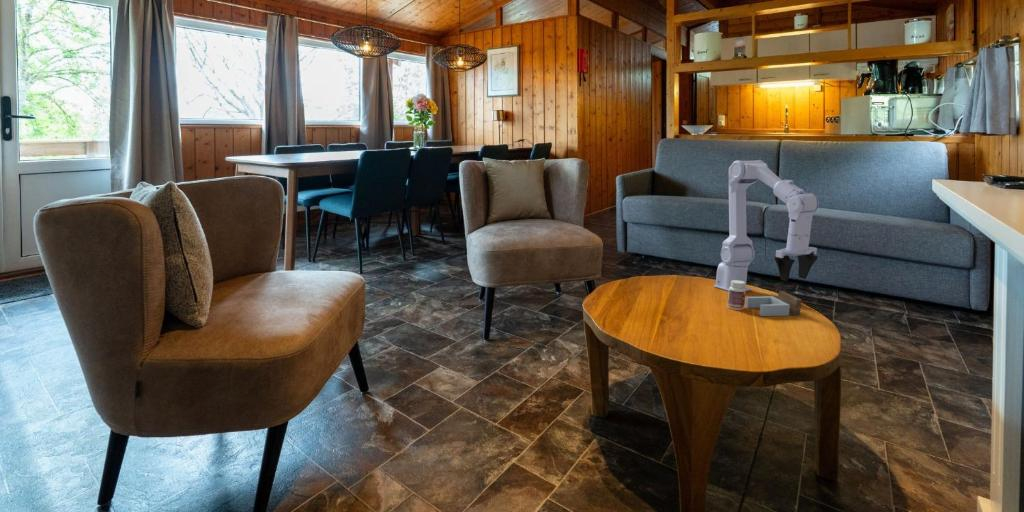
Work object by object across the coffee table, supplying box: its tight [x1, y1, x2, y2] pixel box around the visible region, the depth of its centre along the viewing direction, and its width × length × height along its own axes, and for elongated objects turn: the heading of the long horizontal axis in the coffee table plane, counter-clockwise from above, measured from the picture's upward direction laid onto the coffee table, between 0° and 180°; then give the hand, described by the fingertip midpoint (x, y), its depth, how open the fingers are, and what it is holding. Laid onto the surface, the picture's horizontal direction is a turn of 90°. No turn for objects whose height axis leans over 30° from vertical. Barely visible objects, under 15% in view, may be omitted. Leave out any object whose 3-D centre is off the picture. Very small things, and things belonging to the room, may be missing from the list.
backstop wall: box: [777, 290, 803, 317], centre depth 162 cm, size 2×9×5 cm, turn 6°
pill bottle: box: [727, 280, 747, 311], centre depth 164 cm, size 5×5×8 cm
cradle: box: [744, 295, 790, 317], centre depth 162 cm, size 8×9×3 cm
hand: (793, 279), depth 160 cm, fingers open, 7 cm apart
